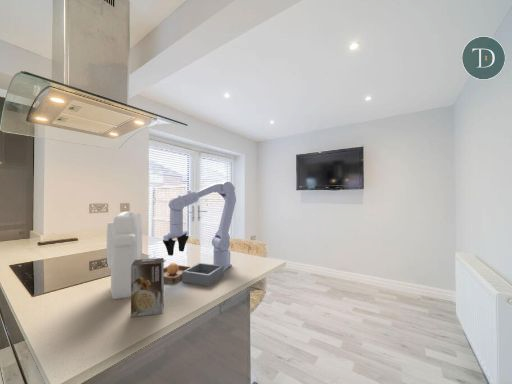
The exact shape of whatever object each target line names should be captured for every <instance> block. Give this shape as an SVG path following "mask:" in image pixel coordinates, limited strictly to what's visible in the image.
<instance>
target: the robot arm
mask: <svg viewBox="0 0 512 384" xmlns="http://www.w3.org/2000/svg"><path fill="white" fill-rule="evenodd" d="M235 190H236V187H235V186H234V184H233V183H232V182H231V181H223V182H222V181H220V182H217V183H213V184H210V185H208V186H206V187H204V188H202V189H200V190H197V191H195V190H187V192H186V193H184V194H179V195H177V197H173V198H171V199H170V201H169V203H168V207H169V208H170V210H169V232H168V234H165V235H163V239H162V242H163V244H164V246H165V249H166V252H167V256H171V257H172V256H174V251H175V250H174V249H175V245H176V242H177V243H178V251H179V252H184V251H185V247H186V245H187V242H188V240H189V238H190V237H189V234H188V233H189V232H188V230H184V210H183V209H184V208H186V207H188V206H190V205H193V204H194V203H195V204H196V203H198V201H199V200H200V198H202V197H203V198H204V197H205V196H208V195H210V194H212V193H217V194H219V195H220V196H221V197H222V198H223V199H224V206H223V210H222V213H221V217H220V222H219V226H218V230H217V231H216V232H215V235H214V237H213V238H212V241H211V245H212V246H213V260H212V261H213V265H221V266H224V269H223V272H225V270H228V268H229V267H231V266H232V265H233V263H231V251H230V249H229V248H230V245H231V242H230V239H231V238H230V228H231V223H232V219H233V215H234V211H235V207H236V202H237V197H236V192H235ZM175 239H177V240H175Z"/></svg>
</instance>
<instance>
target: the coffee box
mask: <svg viewBox="0 0 512 384" xmlns="http://www.w3.org/2000/svg"><path fill="white" fill-rule="evenodd" d="M164 261H165V259H164V257H160V258H158V257H157V258H142V259H140V260H135V261H134V262H133V263H132V265H131V297H130V317H131V318H135V317H143V316H150V315H151V316H152V315H158V314H160V315H161V314H163V310H164V306H165V301H164V299H165V298H164V297H165V296H164V295H165V294H164V293H165V292H164V287H165V286H164V285H165V284H164V283H165V282H164V268H165V265H164V264H165V263H164Z"/></svg>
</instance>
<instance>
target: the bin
mask: <svg viewBox="0 0 512 384" xmlns="http://www.w3.org/2000/svg"><path fill="white" fill-rule="evenodd" d="M189 267H190V268H188V269H186V270H184V271H182V280H181V282H182V283H184V284H186V283H187V284H191V285H199V286H204V287H211V285H213V284H214V283H216V282H217V281H218V280H219V279H221V278H222V277H224V271H223V269H224V266H221V265H213V264H212V263H211V264H210V263H205V262H204V263H202V262H198V263H196V264H194V265H192V266H189Z"/></svg>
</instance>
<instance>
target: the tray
mask: <svg viewBox="0 0 512 384" xmlns="http://www.w3.org/2000/svg"><path fill="white" fill-rule="evenodd" d="M177 265H178V266H179V270H178V272H177V273H176V274H169V273H168V271H167V267H168V266H169V265H168V266H164V283H165V284H171V285H174V284H176V283H179V282H180V281H182V271H184V270H186V269H188V268H190V267H191V266H187V265H182V264H181V265H179V264H177Z"/></svg>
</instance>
